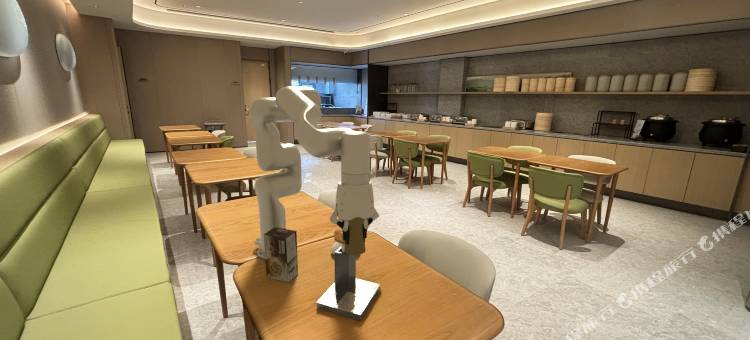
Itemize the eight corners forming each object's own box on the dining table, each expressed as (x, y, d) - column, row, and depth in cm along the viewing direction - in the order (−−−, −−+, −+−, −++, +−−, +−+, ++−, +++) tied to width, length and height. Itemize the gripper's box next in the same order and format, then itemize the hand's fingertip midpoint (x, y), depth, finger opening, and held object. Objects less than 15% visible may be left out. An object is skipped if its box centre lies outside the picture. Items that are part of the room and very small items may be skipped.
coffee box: (298, 273, 111) (297, 230, 107) (288, 283, 105) (286, 238, 101) (276, 268, 114) (274, 226, 110) (265, 277, 108) (262, 233, 104)
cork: (349, 257, 85) (349, 218, 83) (340, 247, 90) (340, 211, 88) (369, 252, 88) (370, 215, 85) (359, 243, 93) (360, 208, 91)
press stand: (316, 307, 94) (316, 265, 90) (341, 279, 108) (342, 242, 105) (360, 321, 89) (361, 276, 85) (380, 289, 103) (381, 250, 100)
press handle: (330, 273, 99) (330, 234, 96) (340, 262, 106) (340, 226, 102) (350, 278, 97) (350, 239, 94) (359, 267, 103) (360, 230, 100)
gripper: (380, 173, 90) (378, 232, 95) (321, 176, 85) (322, 239, 89) (389, 179, 83) (387, 243, 88) (326, 183, 78) (327, 251, 82)
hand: (354, 240), depth 88 cm, fingers closed on cork, 3 cm apart
